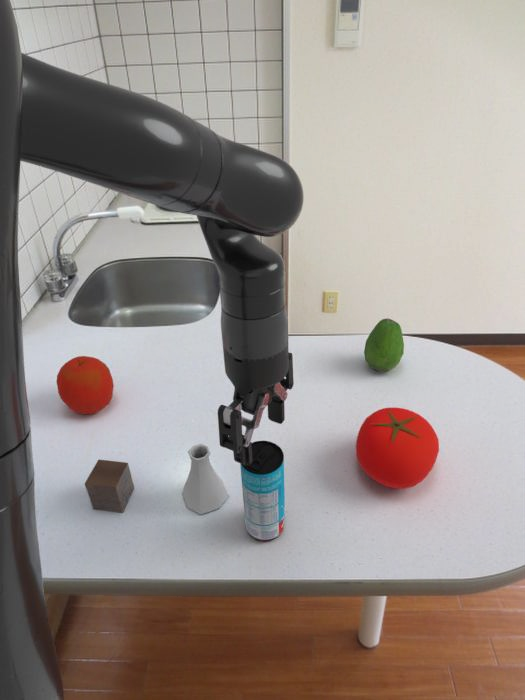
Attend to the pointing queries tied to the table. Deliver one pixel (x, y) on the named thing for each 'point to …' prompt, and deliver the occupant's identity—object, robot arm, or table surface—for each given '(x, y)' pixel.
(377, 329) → the avocado
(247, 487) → the beverage can
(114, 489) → the walnut block
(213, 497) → the flask
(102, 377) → the apple
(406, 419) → the tomato
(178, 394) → the table surface
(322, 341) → the table surface
